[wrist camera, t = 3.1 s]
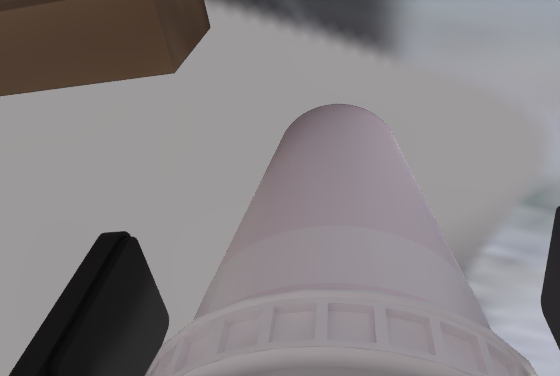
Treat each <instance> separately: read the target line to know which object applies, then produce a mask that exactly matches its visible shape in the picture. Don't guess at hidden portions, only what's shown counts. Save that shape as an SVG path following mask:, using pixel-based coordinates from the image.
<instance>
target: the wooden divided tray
mask: <svg viewBox="0 0 560 376" xmlns="http://www.w3.org/2000/svg"><path fill="white" fill-rule="evenodd" d="M209 29H210V24H209V19H208V15H207V11H206V7H205V3H204V0H0V96H5V95H13V94H21V93H28V92H35V91H43V90H51V89H58V88H66V87H73V86H81V85H89V84H96V83H104V82H111V81H119V80H126V79H133V78H141V77H148V76H156V75H163V74H171V73H175V72H176V71H177V69H178V68H179V67H180V65H181V64H182V63H183V62H184V60H185V59H186V58H187V57H188V55H189V54H190V53H191V52H192V50H193V49H194V48H195V47H196V45H197V44H198V43H199V41H200V40H201V39H202V37H203V36H204V35H205V34H206V33H207V31H208V30H209Z"/></svg>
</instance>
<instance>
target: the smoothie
mask: <svg viewBox="0 0 560 376" xmlns="http://www.w3.org/2000/svg"><path fill="white" fill-rule="evenodd" d="M145 376H537V374H536V372H535V371H534V369H533V367H532V366H531V364H530V362H529V361H528V360H527V359H526V358H525V357H523V356H522V355H521V354H520V353H518V352H517V351H516V350H515V349H514V348H512V347H511V346H510V345H509V344H507V343H506V342H505V341H504V340H503V339H501V338H500V337H499V336H498V335H496V334H495V333H494V332H493V331H492V330H491V328H490V326H489V324H488V322H487V320H486V318H485V316H484V314H483V312H482V310H481V307H480V305H479V303H478V301H477V299H476V297H475V295H474V293H473V291H472V289H471V288H470V286H469V284H468V283H467V281H466V279H465V277H464V275H463V273H462V271H461V269H460V267H459V265H458V263H457V261H456V259H455V257H454V255H453V253H452V251H451V249H450V247H449V245H448V243H447V241H446V239H445V237H444V235H443V233H442V231H441V229H440V227H439V225H438V223H437V221H436V219H435V217H434V215H433V213H432V211H431V209H430V207H429V205H428V203H427V201H426V199H425V197H424V195H423V193H422V191H421V189H420V187H419V185H418V183H417V181H416V179H415V177H414V175H413V173H412V171H411V169H410V167H409V165H408V163H407V161H406V159H405V157H404V155H403V153H402V151H401V150H400V148H399V145H398V143H397V141H396V139H395V137H394V136H393V134H392V132H391V130H390V129H389V127H388V126H387V125H386V124H385V123H384V122H383V121H382V120H381V119H380V118H379V117H378V116H376V115H375V114H373V113H371V112H369V111H368V110H365V109H363V108H360V107H357V106H352V105H346V104H332V105H325V106H321V107H318V108H315V109H312V110H310V111H308V112H306V113H304V114H303V115H301V116H300V117H299V118H298V119H296V120H295V121H294V122H293V123H292V124H291V125H290V126H289V128H288V129H287V131H286V132H285V134H284V136H283V138H282V140H281V142H280V144H279V146H278V148H277V150H276V152H275V154H274V156H273V158H272V160H271V162H270V164H269V166H268V168H267V170H266V173H265V175H264V177H263V178H262V181H261V183H260V185H259V187H258V189H257V191H256V193H255V195H254V197H253V199H252V201H251V203H250V205H249V207H248V209H247V211H246V213H245V215H244V217H243V220H242V221H241V223H240V225H239V227H238V230H237V232H236V234H235V236H234V238H233V240H232V242H231V244H230V246H229V248H228V250H227V252H226V254H225V256H224V258H223V260H222V262H221V264H220V266H219V268H218V270H217V272H216V275H215V276H214V278H213V280H212V282H211V283H210V285H209V287H208V289H207V292H206V294H205V296H204V298H203V300H202V302H201V305H200V307H199V309H198V311H197V313H196V315H195V317H194V319H193V321H192V322H191V323H189V324H188V325H187V326H186V327H184V328H183V329H182V330H181V331H179V332H178V333H177V334H176V335H174V336H173V337H172V338H171V339H169V340H168V341H167V342H166V343H164V344H163V345H162V346H161V348H160V350H159V351H158V353H157V355H156V357H155V358H154V360H153V362H152V364H151V365H150V367H149V369H148V371H147V372H146V374H145Z"/></svg>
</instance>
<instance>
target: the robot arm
mask: <svg viewBox="0 0 560 376" xmlns="http://www.w3.org/2000/svg"><path fill="white" fill-rule="evenodd" d="M541 307H542V311H543V314H544V317H545V319H546V321H547V323H548V326H549V328H550V330H551V332H552V334H553V336H554V339H555V341H556V343H557V345H558V347H559V350H560V206H559V207H558V208H557V209H556V213H555V219H554V225H553V231H552V237H551V242H550V248H549V254H548V260H547V266H546V271H545V277H544V283H543V289H542V295H541ZM168 326H169V315H168V313H167V310H166V307H165V305H164V303H163V300H162V298H161V296H160V293H159V290H158V288H157V286H156V284H155V281H154V279H153V276H152V274H151V271H150V269H149V267H148V264H147V262H146V259H145V257H144V255H143V252H142V250H141V247H140V245H139V243H138V240H137V239H136V238H135V237H131V236H130V234H129V233H127V232H125V231H122V232H108V233H102V234H101V235H100V236H99V237H98V239H97V240H96V242H95V243H94V245H93V246H92V248H91V249H90V251H89V253H88V254H87V256H86V257H85V259H84V260H83V262H82V263H81V265H80V266H79V268H78V269H77V271H76V273H75V274H74V276H73V277H72V279H71V280H70V282H69V283H68V285H67V286H66V288H65V289H64V291H63V293H62V294H61V296H60V297H59V299H58V300H57V302H56V303H55V305H54V306H53V308H52V310H51V311H50V313H49V314H48V316H47V317H46V319H45V321H44V322H43V324H42V325H41V327H40V328H39V330H38V331H37V333H36V334H35V336H34V337H33V339H32V341H31V342H30V344H29V345H28V347H27V348H26V350H25V351H24V353H23V354H22V356H21V358H20V359H19V361H18V362H17V364H16V365H15V367H14V368H13V370H12V372H11V373H10V375H9V376H145V374H146V372H147V371H148V369H149V367H150V365H151V364H152V362H153V360H154V358H155V357H156V355H157V353H158V351H159V350H160V348H161V346H162V343H163V341H164V338H165V335H166V332H167V330H168Z"/></svg>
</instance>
